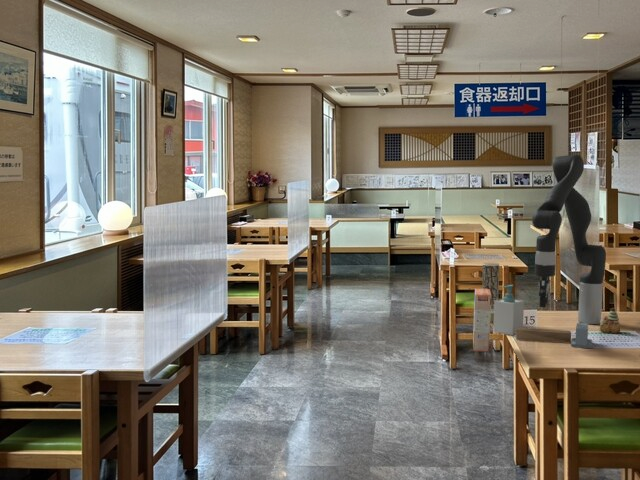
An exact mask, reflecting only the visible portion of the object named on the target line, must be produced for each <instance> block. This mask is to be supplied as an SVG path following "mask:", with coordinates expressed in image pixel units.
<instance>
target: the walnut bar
mask: <svg viewBox="0 0 640 480" xmlns="http://www.w3.org/2000/svg"><path fill="white" fill-rule="evenodd" d="M515 340H518V341H519V340H520V341H534V342H535V341H537V342H554V343H555V342H556V343H557V342H558V343H570V344H571V342H572V331H571V330H567V329H566V330H563V329H548V328H547V329H546V328H545V329H544V328H530V327H529V328H528V327H526V328H525V327H523V328H516V334H515Z"/></svg>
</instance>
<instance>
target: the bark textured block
mask: <svg viewBox="0 0 640 480" xmlns="http://www.w3.org/2000/svg"><path fill="white" fill-rule="evenodd" d="M481 281H482V285H481V289H490V291H491V316H490V323H494V301H495V300H499V289H500V287H499V286H500V285H499V282H500V263H499V262H483V263H482V280H481Z"/></svg>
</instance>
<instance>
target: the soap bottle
mask: <svg viewBox="0 0 640 480" xmlns="http://www.w3.org/2000/svg"><path fill="white" fill-rule="evenodd" d="M513 287H514V284H508V285H504V286H503V287H502V288H503V289H506V291H507V293H505V296H503V298H498V300H495V301H494V322H493V333H496V334H502V335H508V336H516V328H524V311H525V310H524V309H525V307H524V306H525V301H524V300H522V299H516V298H515V296H514V294H513V293H512V291H513V290H512V289H513Z"/></svg>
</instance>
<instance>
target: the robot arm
mask: <svg viewBox="0 0 640 480" xmlns="http://www.w3.org/2000/svg"><path fill="white" fill-rule="evenodd" d="M584 169H585V163H584V159H583V156H581V155H579V154H570V155H568V154H567V155H560V156H556V157H555V158H554V159H553V160H552V171H553V174H554V175H553V176H554V178H555V181H556V182H557V183H556V184H555V185H554V186H553V187H551V189H550V190H549V191H548V192H547V195H546V197H545V199H544V202H542V204H541V205H540V206H539V207H538V208H537V209H536V210H535V211H534V213H533V215H532V218H531V219H532V221H531V222H532V225H533V227H534V228H536V229H538V230H539V229H540V230H549V232H548V233H547V234H542V235H538V236H537V237H536V243H535V244H536V248H535V249H536V250H535V258H534V275H535V276H538V277H540V279H539V280H538V292H539V293H538V297H539V307H540V308H546V306H547V304H548V302H549V301H548V300H549V291H550V288H551V287H550V286H551V280H550V278H551V277H554V276H556V267H557V266H556V263H557V255H556V248H557V247H556V246H557V237H558V234H559V231H560V228H561V225H562V221H563V216H562V214H561V211H562V210H563V208H565V212H566V217H567V219H568V220H567V221H568V224H569V226H570V231H571V234H572V235H571V236H572V239H573V245H574V252H575V257H576V260H577V261H576V262H578V264H579V265H581V266H585V267H590V271H589V272H588V273H583V274H581V275H580V276H579V290H578V292H579V293H578V318H577V323H587V324H588V325H600V321H601V320H602V312H603V311H602V309H603V308H602V307H603V285H604V278H605V275H606V274H605V270H606V264H607V263H606V261H607V253H606V249H605V247H604V246H602V245H599V244H597V245H596V244H588V242H587V235H586V234H587V232H588V229H589V226H590V224H591V222H592V213H591V208H590V205H589V203H588V200H587V199H586V198H585V197H584V196H583V195H582V194H581V193H580V192H579V191H578V190H576V188H575V185H576V184H577V182H578V181H579V179H580V178H581V177H582V175H583V172H584Z"/></svg>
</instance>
